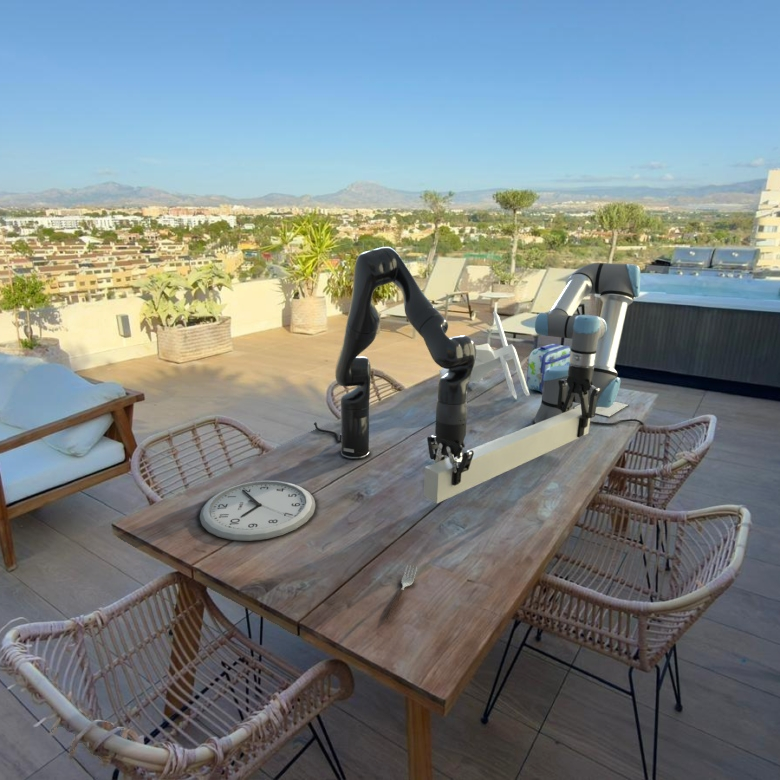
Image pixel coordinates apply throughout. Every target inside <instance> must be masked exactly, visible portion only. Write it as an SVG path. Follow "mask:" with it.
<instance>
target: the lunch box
mask: <svg viewBox="0 0 780 780" xmlns="http://www.w3.org/2000/svg"><path fill="white" fill-rule="evenodd" d="M570 354H571V347H570V346H569V345H561V344H556V343H551V344H547V345H543V346H540V347H537V348H534V349H533V350H532V351H531V352H530V353H529V356H528V361H527V362H528V363H527V371H526V384H527V387H528V390H531V391H537V392H540V393H541V394H542V391H543V382H544V381H543V379H544V375H545V371H546V369H548V368H550V367H553V366H561V365H568V366H569V365H570V364H571V363H570Z"/></svg>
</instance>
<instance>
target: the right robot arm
mask: <svg viewBox="0 0 780 780" xmlns="http://www.w3.org/2000/svg"><path fill="white" fill-rule="evenodd" d="M640 293H641V268H640V267H639V265H637V264H630V263H629V264H628V263H613V262H612V263H609V262H607V263H606V262H592V263H589V264H586V265H584V266H582V267H580V268H578V269H577V270H575V271H574V272H572V273H571V274H570V275H569V276H568V278H567V279H566V282H565V287H564V289H563V291H562V292H561V294H560V295H559V297H558V298H557V299H556V300H555V302H554V304H553V305H552V307H551V308H550V310H549V311H548V312H540V313H538V314H537V315H536V317H535V322H534V332H535V334H537V335H540V336H545V337H554V338H563V339H570V340H571V347H570V349H571V354H570V365H569V366H568V365H561V366H553V367H550V368H548V369H546V371H545V375H544V379H543V381H544V382H543V391H542V393H541V402H540V405H539V407H538V410H537V411H536V413H535V417H534V424H536V423H539V422H541V421H544V420H546V419H549V418H552V417H554V416H557V415H559V414H562V413H564V412H567V411H569V410H572V409H574V407H573V405H574V403H575V404H579V405H580V404H581V411H582V417H581V418H580V419H579V426H578V434H577V437H580V438H582V437H584V436H585V435H584V429H585V428H586V427H587V425H588V418H590V419H592V418H594V417H595V416H596V413H595V412H596V407H604V408H608V407H610V406H611V405H612V404H613V403H614V402H616V401H615V400H616V399H617V396H618V394H619V390H620V385H621V378H620V377H618V373H619V372H618V371H617V370H616V369H615V367H616V363H617V357H618V352H619V347H620V343H621V339H622V334H623V330H624V329H623V328H624V325H625V320H626V315H627V310H628V306H630V305H631V304H633V302H634V299H635V298H638V297H639V296H640ZM591 294H592V295H593V294H595V295H599V299H600V301H601V302H602V305H601V311H600V315H599V316H598V315H592V314H579V315H574V314H575V313H576V311H577V309H578V308H579V306H580V305H581V303H582V301H583V299H585V297H587V296H588V295H591ZM626 422H637V423H639V424H640V425H643V426H644V425H645V424H644V422H643V421H641V420H639V419H637V418H627V419H619V420H617V421H615V422H603V421H602V422H600V421H594V420H593V421H592V420H590V424H595V425H602V426H615V425H618V424H619V423H626ZM583 435H584V436H583ZM581 436H582V437H581Z"/></svg>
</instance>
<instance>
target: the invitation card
mask: <svg viewBox="0 0 780 780" xmlns="http://www.w3.org/2000/svg"><path fill="white" fill-rule="evenodd" d="M628 406H629V404H627V403H623V402H618V401H614V403H613V404H612V405H611V406H610V407H608V408H604V407H596V412H595V415H600V416H604V417H608V418H609V417H611V416H613V415H614V414H616V413H617V412H619V411H621V410H623V409H624V408H626V407H628ZM577 407H581V404H580V403H579V404H578V405H575V406H574V407H573V409H575V408H577Z"/></svg>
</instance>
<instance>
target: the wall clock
mask: <svg viewBox="0 0 780 780" xmlns="http://www.w3.org/2000/svg"><path fill="white" fill-rule="evenodd" d="M315 501H316V500H315V498H314V496H313V495H312V493H310V492H309V491H308V490H307V489H305V488H303V487H302V486H300V485H297V484H294V483H291V482H288V481H287V482H286V481H281V480H256V481H249V482H243V483H240V484H236V485H234V486H231V487H228V488H226V489H224V490H221V491H220V492H218V493H216V494H215V495H214V496H212V497H211V498H210V499H208V500H207V501H206V502H205V504H204V505H203V507H201V509H200V514H199V521H200V523H201V526H202V527H203V528H204V529H205V530H206V531H207V532H208V533H209V534H211V535H213V536H216V537H217V538H220V539H221V538H222V539H227V540H230V541H241V542H243V541H244V542H246V541H247V542H251V541H252V542H253V541H261V540H268V539H272V538H277V537H279V536H283V535H286V534H288V533H290V532H293V531H295V530H297V529H298V528H300V527H301V526H303V525H305V524H306V523H307V522H308V521H309V520H310V519H311V518H312V516H313V515H314V513H315V510H316V502H315Z"/></svg>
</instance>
